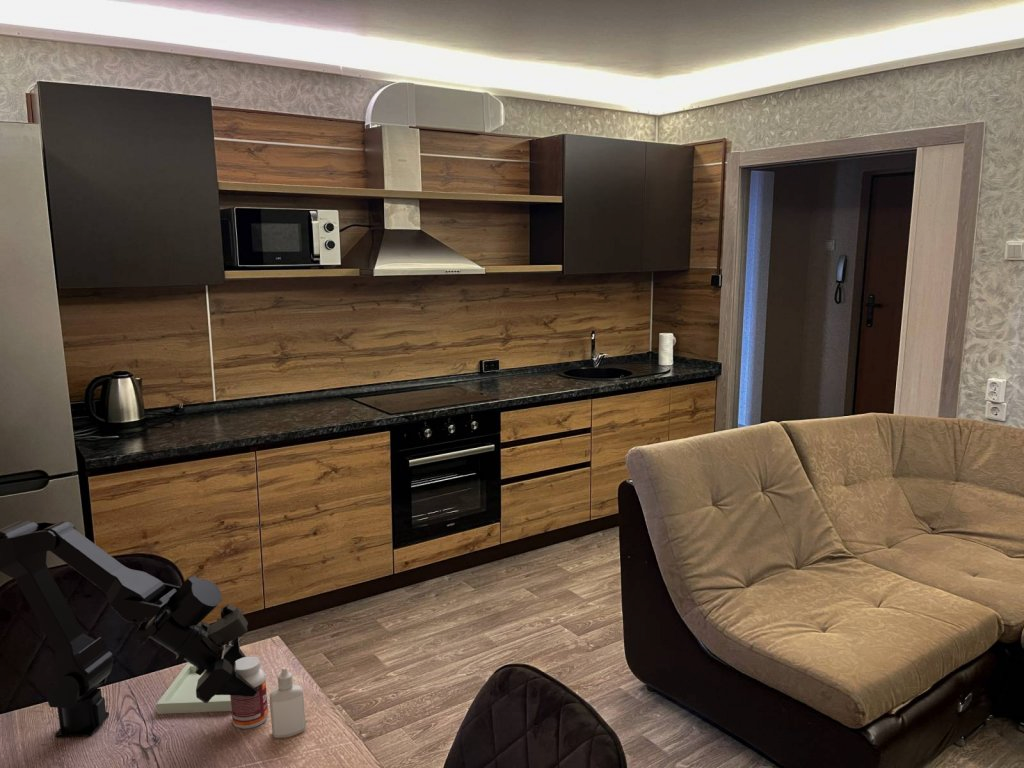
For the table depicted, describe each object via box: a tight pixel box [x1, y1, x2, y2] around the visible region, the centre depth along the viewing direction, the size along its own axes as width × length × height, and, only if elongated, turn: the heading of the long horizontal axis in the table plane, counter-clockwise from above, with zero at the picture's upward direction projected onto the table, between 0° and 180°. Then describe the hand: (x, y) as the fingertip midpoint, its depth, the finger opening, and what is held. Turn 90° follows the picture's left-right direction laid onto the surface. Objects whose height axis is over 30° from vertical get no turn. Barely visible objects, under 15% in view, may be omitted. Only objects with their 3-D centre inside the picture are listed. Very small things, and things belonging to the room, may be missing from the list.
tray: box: [156, 663, 232, 715], centre depth 144 cm, size 14×14×2 cm
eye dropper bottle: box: [269, 666, 307, 739], centre depth 130 cm, size 4×6×12 cm
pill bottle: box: [230, 656, 269, 730], centre depth 134 cm, size 6×6×11 cm
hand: (256, 684), depth 134 cm, fingers closed on pill bottle, 6 cm apart
